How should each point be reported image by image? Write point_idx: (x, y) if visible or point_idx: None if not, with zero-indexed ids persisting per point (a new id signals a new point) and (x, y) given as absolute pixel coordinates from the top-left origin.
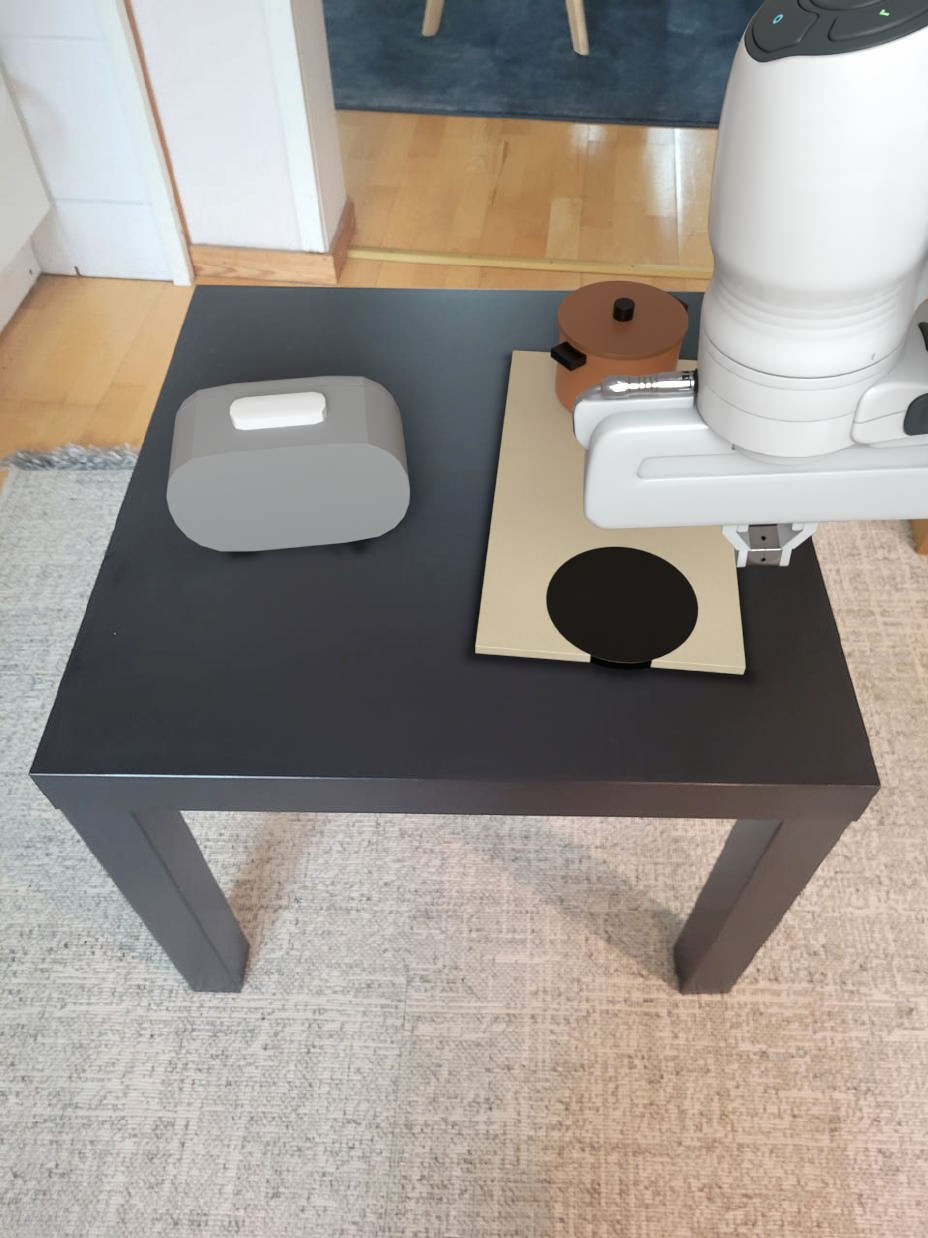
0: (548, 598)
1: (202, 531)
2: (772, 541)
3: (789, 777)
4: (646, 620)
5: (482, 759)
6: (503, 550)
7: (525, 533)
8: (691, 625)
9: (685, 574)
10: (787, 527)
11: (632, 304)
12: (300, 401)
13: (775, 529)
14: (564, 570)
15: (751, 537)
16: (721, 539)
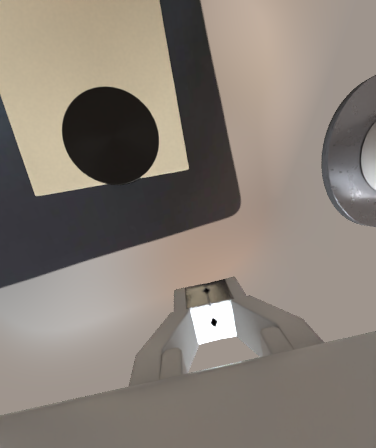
0: (66, 146)
1: None
2: (226, 326)
3: (213, 221)
4: (130, 149)
5: (72, 257)
6: (17, 108)
7: (27, 87)
8: (156, 146)
9: (146, 104)
10: (250, 329)
11: None
12: None
13: (229, 305)
14: (68, 118)
15: (197, 324)
16: (163, 65)
